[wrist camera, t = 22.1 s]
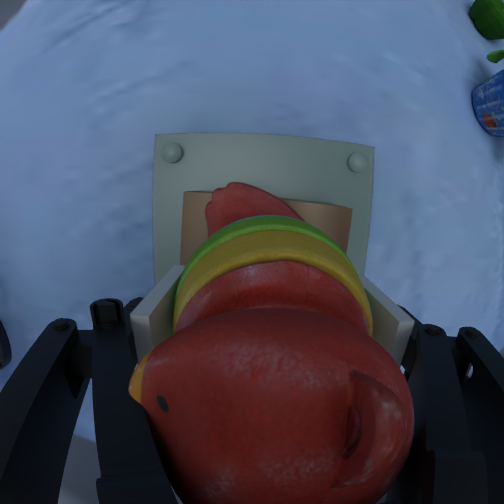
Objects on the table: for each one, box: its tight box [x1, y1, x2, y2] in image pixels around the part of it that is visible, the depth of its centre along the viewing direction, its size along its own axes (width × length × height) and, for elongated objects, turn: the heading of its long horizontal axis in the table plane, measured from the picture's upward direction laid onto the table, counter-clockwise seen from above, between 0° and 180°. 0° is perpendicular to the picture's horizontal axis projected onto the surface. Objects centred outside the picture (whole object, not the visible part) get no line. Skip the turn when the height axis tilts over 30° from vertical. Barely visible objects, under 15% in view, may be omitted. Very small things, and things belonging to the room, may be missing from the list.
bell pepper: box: [470, 0, 504, 40], centre depth 15 cm, size 8×8×10 cm
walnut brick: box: [180, 190, 353, 266], centre depth 25 cm, size 13×10×6 cm
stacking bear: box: [128, 182, 414, 504], centre depth 12 cm, size 11×10×18 cm
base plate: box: [153, 133, 374, 286], centre depth 28 cm, size 22×22×2 cm
